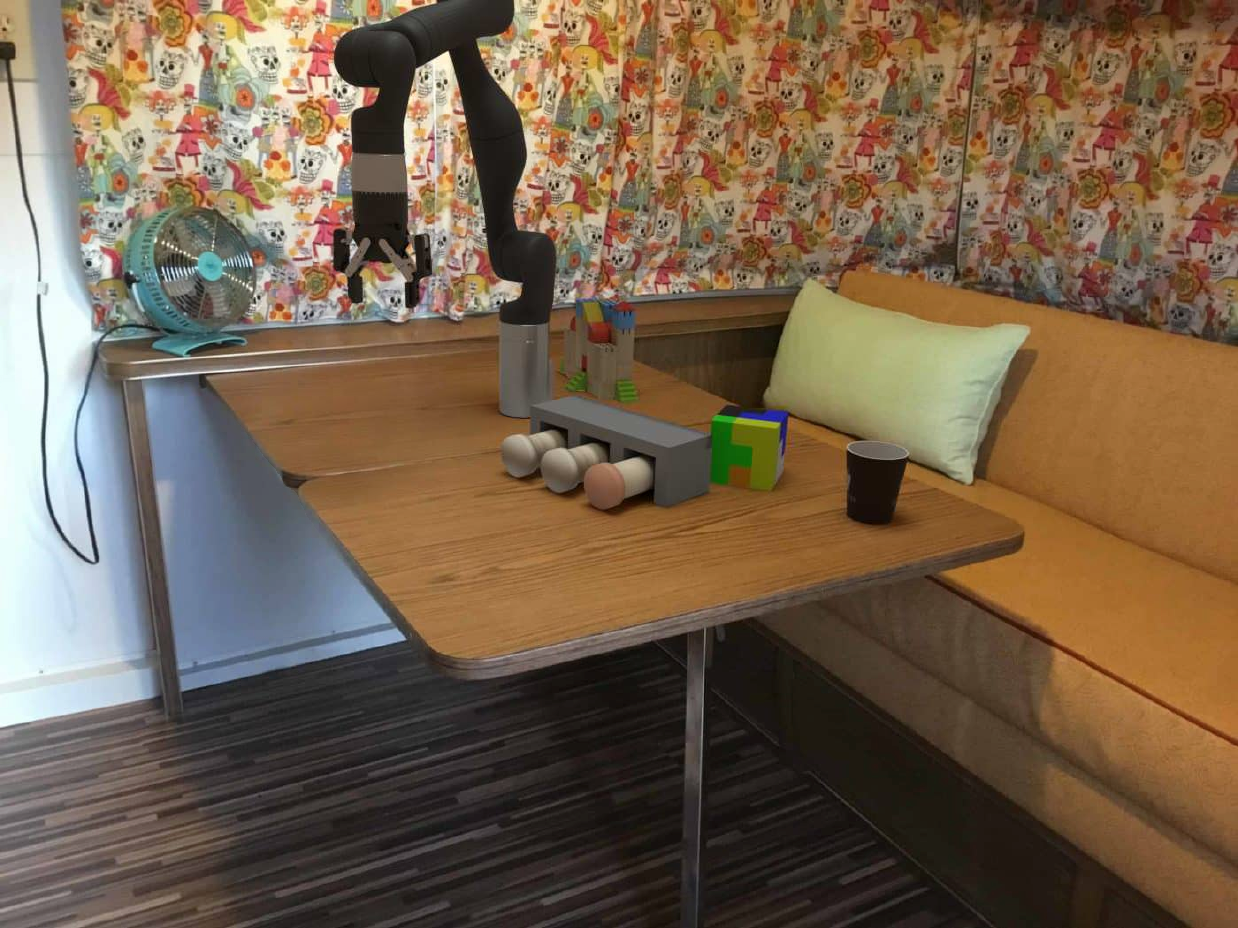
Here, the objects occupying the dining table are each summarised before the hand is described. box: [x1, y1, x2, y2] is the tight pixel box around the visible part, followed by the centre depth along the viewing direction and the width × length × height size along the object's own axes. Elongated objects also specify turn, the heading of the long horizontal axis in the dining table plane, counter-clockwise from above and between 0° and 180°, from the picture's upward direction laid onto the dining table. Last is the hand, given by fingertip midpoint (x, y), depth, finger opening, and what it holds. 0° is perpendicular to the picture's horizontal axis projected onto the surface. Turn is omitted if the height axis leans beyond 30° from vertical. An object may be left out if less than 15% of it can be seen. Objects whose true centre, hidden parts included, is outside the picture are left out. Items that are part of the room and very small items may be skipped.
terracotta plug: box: [583, 455, 656, 510], centre depth 147 cm, size 10×6×6 cm, turn 137°
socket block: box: [529, 395, 713, 508], centre depth 158 cm, size 10×29×9 cm, turn 47°
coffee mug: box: [846, 440, 910, 526], centre depth 146 cm, size 12×9×10 cm
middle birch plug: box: [540, 441, 610, 494], centre depth 153 cm, size 10×6×6 cm, turn 137°
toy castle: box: [557, 297, 640, 404], centre depth 210 cm, size 28×14×19 cm, turn 23°
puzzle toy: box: [710, 404, 789, 492], centre depth 160 cm, size 10×10×10 cm
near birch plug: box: [500, 428, 568, 478], centre depth 159 cm, size 10×6×6 cm, turn 137°
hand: (383, 305), depth 146 cm, fingers open, 8 cm apart
